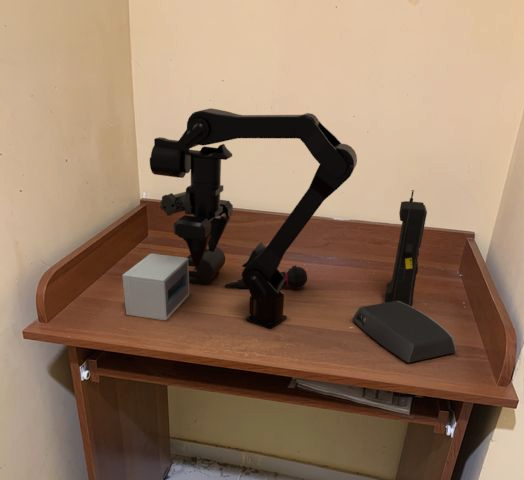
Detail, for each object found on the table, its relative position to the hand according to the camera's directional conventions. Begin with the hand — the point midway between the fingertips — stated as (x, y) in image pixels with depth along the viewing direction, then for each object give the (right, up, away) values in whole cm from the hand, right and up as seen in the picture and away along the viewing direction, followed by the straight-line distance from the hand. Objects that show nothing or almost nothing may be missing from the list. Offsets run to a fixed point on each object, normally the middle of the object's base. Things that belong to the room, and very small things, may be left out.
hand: (204, 258), depth 108 cm
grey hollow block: (-11, -9, +8) cm, 16 cm away
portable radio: (+44, -8, +14) cm, 47 cm away
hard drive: (+41, -17, -1) cm, 44 cm away
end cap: (-2, -1, +23) cm, 23 cm away
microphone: (+13, -4, +19) cm, 23 cm away
